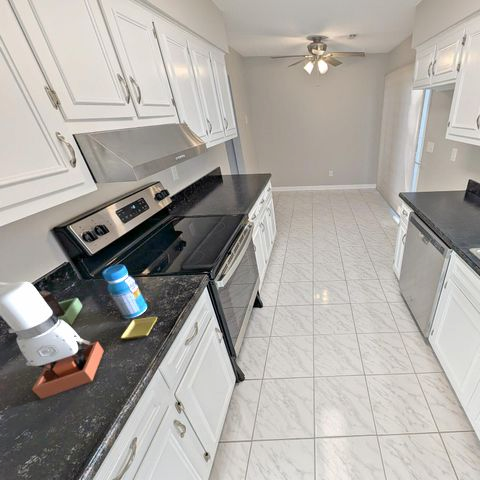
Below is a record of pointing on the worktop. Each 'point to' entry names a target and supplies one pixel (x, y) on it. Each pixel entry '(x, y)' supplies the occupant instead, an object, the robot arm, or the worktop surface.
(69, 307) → the sage bin
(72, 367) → the block
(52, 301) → the box
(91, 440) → the worktop surface
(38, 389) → the terracotta bin
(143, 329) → the yellow flat square tray
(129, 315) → the blue medicine bottle
